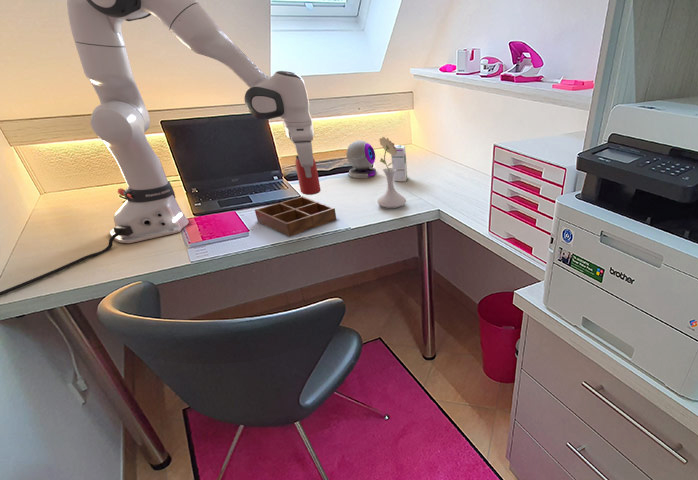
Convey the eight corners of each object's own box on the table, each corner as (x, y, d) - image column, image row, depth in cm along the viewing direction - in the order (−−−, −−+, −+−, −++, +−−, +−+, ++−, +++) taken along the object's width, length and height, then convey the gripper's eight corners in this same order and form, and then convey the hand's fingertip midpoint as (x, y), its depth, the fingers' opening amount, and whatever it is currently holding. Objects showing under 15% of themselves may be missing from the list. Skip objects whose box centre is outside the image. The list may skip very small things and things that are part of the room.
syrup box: (405, 181, 193) (404, 148, 184) (393, 181, 193) (390, 147, 184) (407, 177, 197) (405, 145, 189) (394, 177, 197) (392, 144, 189)
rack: (289, 236, 141) (286, 224, 138) (257, 222, 150) (254, 209, 148) (336, 220, 153) (334, 208, 151) (304, 207, 163) (302, 196, 160)
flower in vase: (411, 207, 165) (407, 140, 151) (383, 212, 161) (377, 143, 146) (398, 197, 175) (394, 133, 160) (372, 201, 170) (365, 135, 156)
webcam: (369, 179, 194) (366, 144, 186) (344, 176, 196) (339, 142, 188) (380, 171, 205) (377, 138, 196) (356, 169, 207) (352, 136, 198)
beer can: (315, 196, 144) (308, 159, 137) (297, 194, 145) (289, 158, 138) (324, 190, 149) (318, 154, 142) (307, 188, 150) (300, 153, 143)
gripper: (287, 124, 142) (295, 166, 150) (291, 137, 126) (300, 183, 134) (306, 123, 144) (314, 164, 152) (312, 135, 129) (320, 181, 136)
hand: (307, 173), depth 143 cm, fingers closed on beer can, 6 cm apart
